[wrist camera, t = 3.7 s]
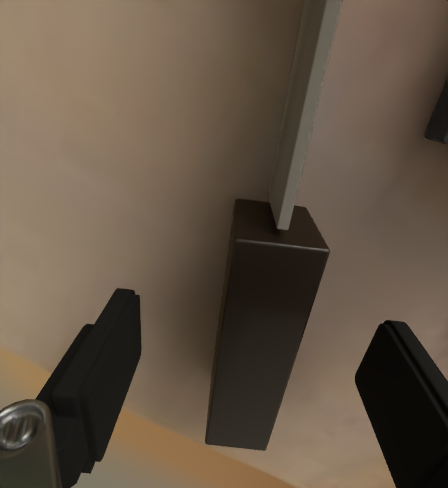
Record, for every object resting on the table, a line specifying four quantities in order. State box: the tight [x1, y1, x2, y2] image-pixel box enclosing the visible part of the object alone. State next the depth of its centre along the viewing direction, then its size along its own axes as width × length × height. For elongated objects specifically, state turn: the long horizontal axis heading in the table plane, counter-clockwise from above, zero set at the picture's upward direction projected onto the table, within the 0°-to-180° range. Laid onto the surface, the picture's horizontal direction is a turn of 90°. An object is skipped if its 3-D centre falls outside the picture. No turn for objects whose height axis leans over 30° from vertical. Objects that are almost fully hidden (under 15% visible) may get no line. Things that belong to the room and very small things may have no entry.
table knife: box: [205, 0, 342, 451], centre depth 8 cm, size 2×19×3 cm, turn 174°
